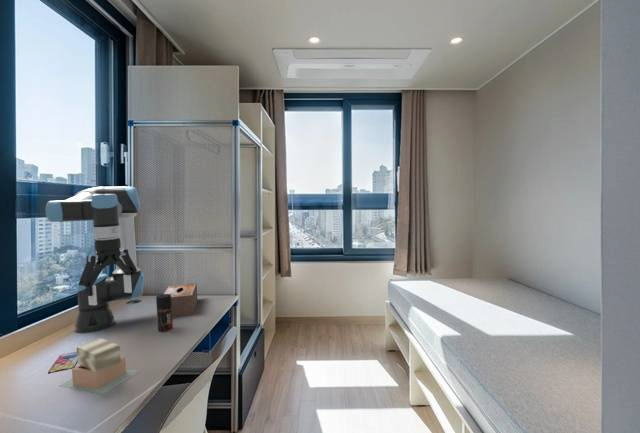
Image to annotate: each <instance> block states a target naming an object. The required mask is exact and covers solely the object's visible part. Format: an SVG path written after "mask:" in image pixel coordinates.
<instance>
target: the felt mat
mask: <svg viewBox="0 0 640 433" xmlns="http://www.w3.org/2000/svg"><path fill="white" fill-rule="evenodd" d="M139 372H140V371H139V370H135V369H127V368H126V372H125V373H124V374H122V375H120V376H119V377H117V378H115V379H114V380H112V381H110V382H109V383H107V384H105V385H104V386H102V387H100V388H99V389H94V388H88V387H82V386H77V385H73V379H72V378H70V379H68V380H67V381H65V382H62V383H61V384H59V385H58V387H63V388H68V389H74V390H78V391H84V392H89V393H95V394H101V395H104V394H106V393H107V392H109V391H111V390H112V389H113V388H115V387H116V386H117V387H118V386H119V385H120V384H121V383H123V382H125V381H126V380H127V379H130V378H131V377H133V376H134V375H136V374H137V373H139Z"/></svg>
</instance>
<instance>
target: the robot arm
mask: <svg viewBox="0 0 640 433" xmlns="http://www.w3.org/2000/svg"><path fill="white" fill-rule="evenodd" d="M140 202H141V201H140V197H139V194H138V189H137V188H136V187H134V186H126V185H122V186H119V185H118V186H96V187H95V186H94V187H91V188H90V187H89V188H86V189H83V190H80V191H78V192H76V193H75V194H74V196H72V197H69V198H67V199H64V200H63V199H62V200H59V199H57V200H49V201H47V203H46V205H45V216H46V219H47V220H48V221H49V222H51V223H67V222H83V221H85V222H86V221H87V222H88V221H92V222H93V223H92V224H93V227H92V228H93V238H94V239H95V240H94V251H95V252H96V254H95V255H91V254H90V255H87V256H86V264H85V266H84V268H83V271H82V273H81V276H80V279H79V281H77V283H76V293H77V295H76V296H77V305H78V306H77V307H78V315H77V317H76V321H75V324H74V331H75V332H77V333H92V332H96V331H101V330H103V329H106V328H110V327H111V326H113V325H115V316H114V314H113V312H112V310H111V307H110V302H111V303H112V302H118V301H125V300H133V299H137V298H141V296H143V293H144V284H145V273H144V272H141V271H142V270H141V268H140V267H138V265H137V264H138V263H137V246H136V244H137V243H136V230H135V228H136V227H135V217H136V216H137V215H138V211H140V210H141V204H140ZM111 265H115V270H113V271H112V276H108V274H107V273H102V272H103V269H105V268H106V267H107V266H111Z"/></svg>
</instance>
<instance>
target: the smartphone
mask: <svg viewBox="0 0 640 433" xmlns="http://www.w3.org/2000/svg"><path fill="white" fill-rule="evenodd" d="M77 365H78V361H77V351H73V352H68V353H64V354H63V353H62V354H60V355H59V357H58V358H57V359H56V360H55V362H54V363H53V365H51V367H50V368H49V370H48V371H47V373H48V375H49V374H53V373H58V372H62V371H67V370H72V369H73V368H75V367H77Z"/></svg>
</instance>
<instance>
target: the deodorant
mask: <svg viewBox="0 0 640 433" xmlns="http://www.w3.org/2000/svg"><path fill="white" fill-rule="evenodd" d="M155 303H156V317H157V318H156V319H157V332H159V333H166V332H169V331H171V330H173V329H174V327H173V326H174V324H173V317H172V305H171V294H164V293H163V294H159V295H157V296H155Z"/></svg>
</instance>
